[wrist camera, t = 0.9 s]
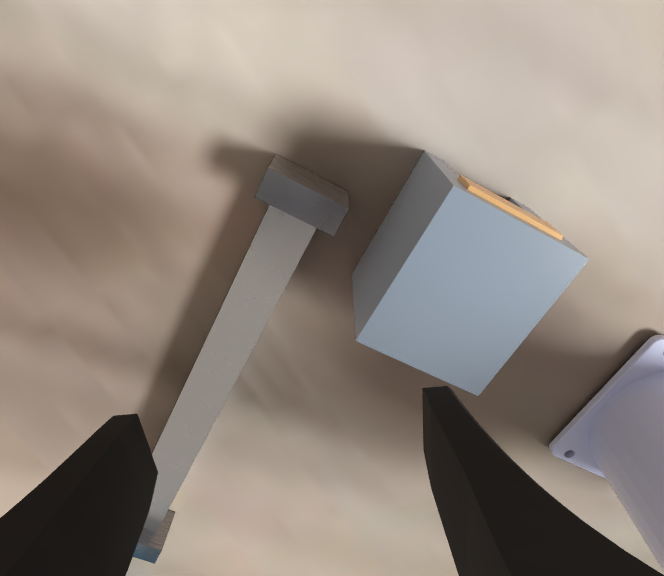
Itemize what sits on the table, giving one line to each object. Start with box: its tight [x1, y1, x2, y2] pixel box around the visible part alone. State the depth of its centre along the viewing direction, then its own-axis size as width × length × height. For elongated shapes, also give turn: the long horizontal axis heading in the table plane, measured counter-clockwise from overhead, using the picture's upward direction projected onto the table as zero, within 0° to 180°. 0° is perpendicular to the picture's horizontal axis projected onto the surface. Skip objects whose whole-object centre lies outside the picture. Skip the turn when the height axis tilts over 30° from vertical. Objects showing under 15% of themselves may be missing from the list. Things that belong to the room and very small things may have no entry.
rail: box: [133, 154, 349, 564], centre depth 23 cm, size 3×22×2 cm, turn 153°
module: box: [352, 150, 589, 396], centre depth 18 cm, size 5×6×6 cm
